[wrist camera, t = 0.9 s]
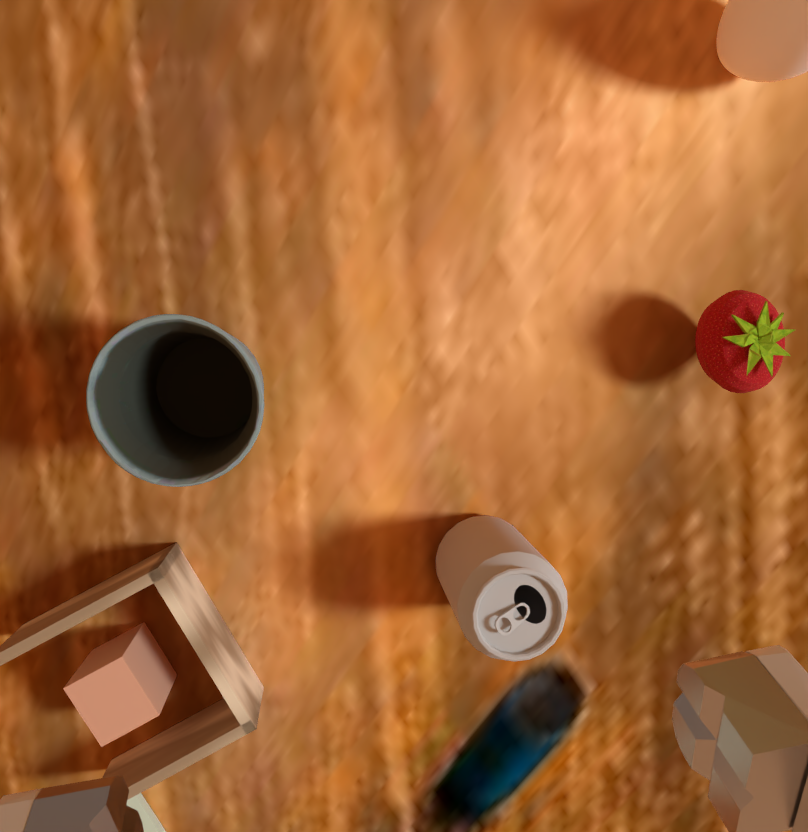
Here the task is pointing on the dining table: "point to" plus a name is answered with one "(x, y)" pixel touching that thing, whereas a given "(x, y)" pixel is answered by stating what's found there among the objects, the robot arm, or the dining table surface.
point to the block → (121, 684)
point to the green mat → (145, 814)
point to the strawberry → (741, 341)
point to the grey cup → (175, 400)
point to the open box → (206, 638)
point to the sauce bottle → (764, 39)
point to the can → (501, 589)
